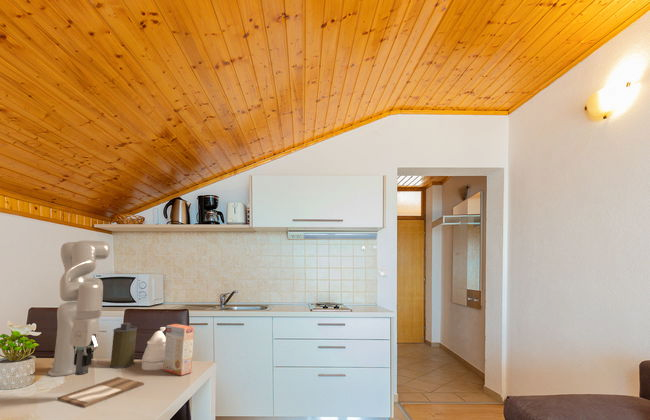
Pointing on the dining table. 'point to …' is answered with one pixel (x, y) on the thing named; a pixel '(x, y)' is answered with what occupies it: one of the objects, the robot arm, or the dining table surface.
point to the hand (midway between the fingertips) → (82, 364)
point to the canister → (123, 346)
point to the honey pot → (154, 351)
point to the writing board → (100, 392)
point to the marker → (79, 368)
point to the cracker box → (178, 349)
